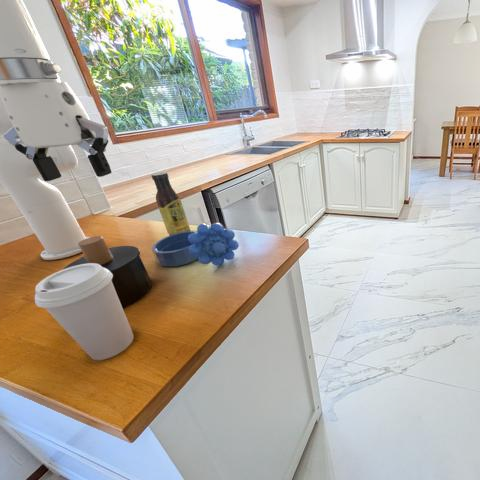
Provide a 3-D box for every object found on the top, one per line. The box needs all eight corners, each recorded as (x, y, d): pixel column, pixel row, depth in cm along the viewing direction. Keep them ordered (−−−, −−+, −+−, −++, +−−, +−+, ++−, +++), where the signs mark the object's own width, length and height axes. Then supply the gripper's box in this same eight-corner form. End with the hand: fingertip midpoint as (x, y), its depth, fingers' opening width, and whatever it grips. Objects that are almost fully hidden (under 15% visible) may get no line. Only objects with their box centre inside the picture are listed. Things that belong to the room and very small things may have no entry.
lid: (47, 279, 58) (29, 253, 56) (114, 247, 70) (102, 223, 67) (90, 289, 54) (73, 261, 51) (155, 253, 65) (144, 229, 62)
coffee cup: (70, 353, 51) (19, 284, 44) (130, 319, 58) (94, 255, 51) (90, 377, 46) (36, 304, 39) (153, 337, 53) (117, 269, 46)
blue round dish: (147, 264, 77) (140, 249, 75) (185, 242, 88) (180, 229, 86) (182, 270, 73) (176, 255, 71) (218, 247, 84) (213, 233, 81)
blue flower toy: (204, 281, 68) (187, 236, 63) (193, 271, 72) (177, 228, 67) (249, 261, 75) (237, 218, 70) (237, 252, 80) (225, 212, 74)
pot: (71, 308, 62) (50, 275, 58) (128, 275, 73) (112, 246, 69) (110, 319, 58) (90, 285, 54) (164, 283, 69) (150, 252, 65)
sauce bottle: (182, 240, 89) (158, 177, 80) (165, 239, 90) (139, 177, 81) (196, 231, 95) (175, 170, 86) (180, 230, 96) (157, 171, 87)
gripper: (96, 71, 51) (136, 168, 59) (-3, 79, 51) (50, 175, 58) (60, 68, 44) (111, 178, 52) (-55, 77, 44) (14, 186, 52)
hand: (79, 177), depth 55 cm, fingers open, 9 cm apart
